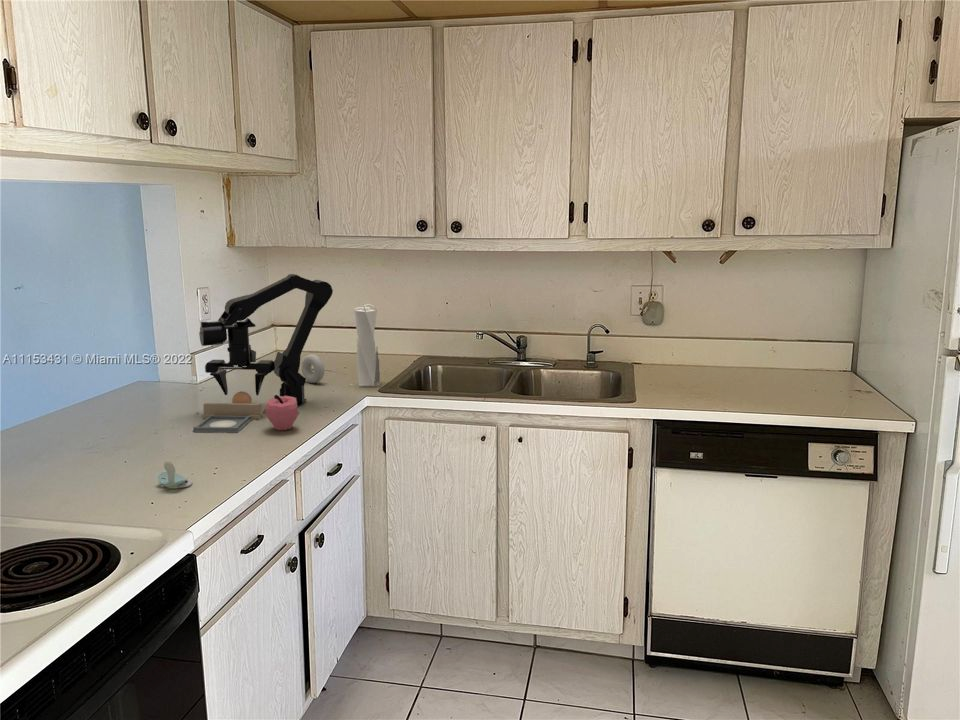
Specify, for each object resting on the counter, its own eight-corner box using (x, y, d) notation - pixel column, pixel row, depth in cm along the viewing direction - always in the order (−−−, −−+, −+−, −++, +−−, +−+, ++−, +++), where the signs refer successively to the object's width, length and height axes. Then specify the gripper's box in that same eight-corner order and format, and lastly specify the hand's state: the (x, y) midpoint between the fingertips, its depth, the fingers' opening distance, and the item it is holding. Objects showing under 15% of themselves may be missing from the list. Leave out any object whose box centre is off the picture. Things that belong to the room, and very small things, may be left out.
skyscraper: (380, 387, 241) (378, 304, 235) (355, 388, 240) (353, 304, 234) (380, 381, 249) (378, 301, 243) (356, 382, 248) (354, 301, 242)
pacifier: (181, 478, 161) (154, 484, 156) (180, 451, 159) (153, 457, 155) (198, 486, 156) (171, 494, 151) (197, 459, 155) (169, 465, 150)
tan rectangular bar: (262, 416, 207) (262, 402, 206) (259, 419, 204) (258, 405, 203) (207, 415, 207) (206, 402, 206) (203, 418, 204) (202, 404, 203)
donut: (327, 384, 245) (326, 355, 243) (319, 386, 242) (318, 357, 240) (307, 379, 251) (306, 351, 249) (299, 381, 248) (298, 353, 246)
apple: (298, 433, 192) (296, 397, 190) (264, 435, 190) (262, 398, 188) (300, 423, 201) (299, 388, 199) (268, 424, 200) (266, 389, 198)
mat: (251, 419, 204) (251, 415, 203) (237, 432, 192) (237, 428, 192) (209, 419, 204) (209, 415, 203) (192, 432, 192) (192, 427, 192)
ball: (254, 407, 216) (253, 389, 215) (248, 412, 211) (247, 394, 210) (236, 407, 216) (235, 389, 215) (229, 412, 211) (228, 394, 210)
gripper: (278, 338, 217) (281, 388, 220) (216, 337, 217) (220, 387, 220) (267, 345, 206) (270, 398, 209) (202, 344, 206) (206, 397, 210)
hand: (242, 395), depth 213 cm, fingers open, 9 cm apart
